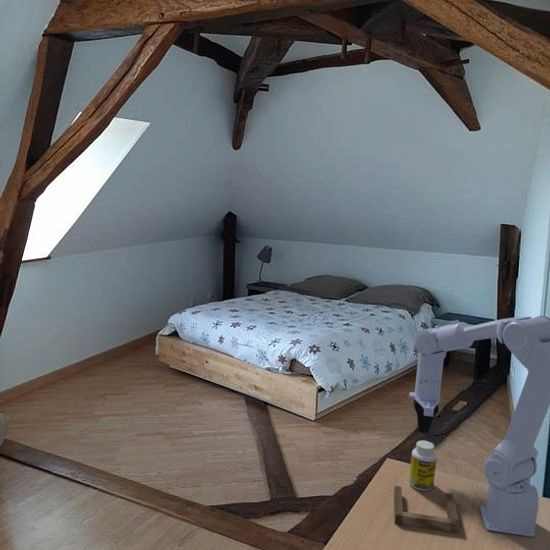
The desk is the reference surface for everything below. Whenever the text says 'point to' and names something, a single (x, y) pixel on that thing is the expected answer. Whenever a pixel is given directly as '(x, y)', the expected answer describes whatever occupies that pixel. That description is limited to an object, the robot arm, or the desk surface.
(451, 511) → the wooden u-shaped block
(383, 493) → the desk surface
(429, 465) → the supplement bottle
